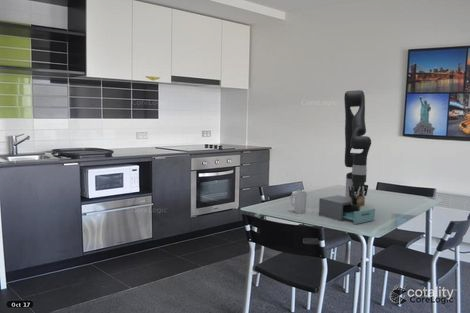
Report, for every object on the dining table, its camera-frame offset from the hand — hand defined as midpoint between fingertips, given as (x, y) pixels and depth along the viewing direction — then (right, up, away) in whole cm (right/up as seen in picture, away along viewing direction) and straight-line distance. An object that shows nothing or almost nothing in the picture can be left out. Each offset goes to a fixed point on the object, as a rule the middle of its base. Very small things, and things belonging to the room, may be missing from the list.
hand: (357, 204), depth 229 cm
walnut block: (0, 0, 0) cm, 0 cm away
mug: (-30, -7, +19) cm, 36 cm away
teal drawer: (-2, -8, +3) cm, 9 cm away
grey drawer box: (-7, -8, +11) cm, 15 cm away
